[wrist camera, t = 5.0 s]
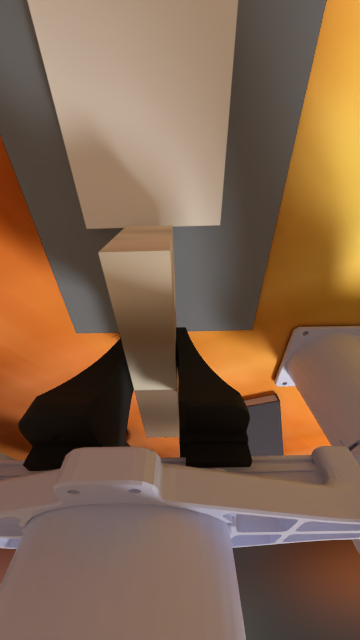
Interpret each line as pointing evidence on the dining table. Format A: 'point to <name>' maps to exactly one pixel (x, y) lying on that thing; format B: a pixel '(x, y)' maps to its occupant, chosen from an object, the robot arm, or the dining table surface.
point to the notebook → (265, 426)
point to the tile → (141, 104)
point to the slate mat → (239, 176)
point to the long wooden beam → (147, 319)
